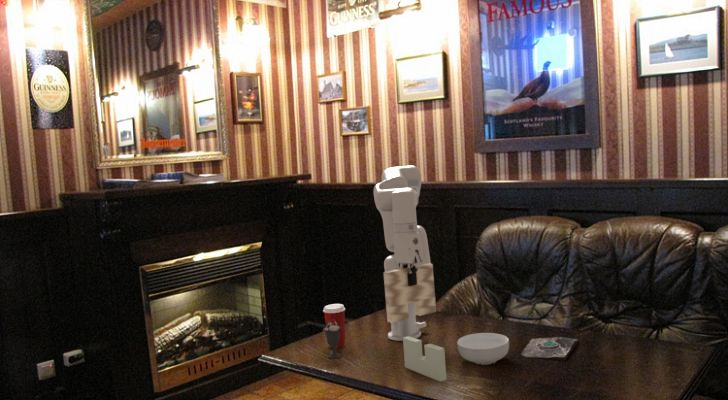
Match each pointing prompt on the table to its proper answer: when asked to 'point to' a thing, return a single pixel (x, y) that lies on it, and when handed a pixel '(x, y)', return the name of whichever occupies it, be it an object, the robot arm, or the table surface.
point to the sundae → (333, 337)
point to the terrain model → (550, 348)
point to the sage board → (424, 358)
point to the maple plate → (409, 293)
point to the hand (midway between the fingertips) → (409, 284)
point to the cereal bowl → (483, 347)
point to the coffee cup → (336, 319)
